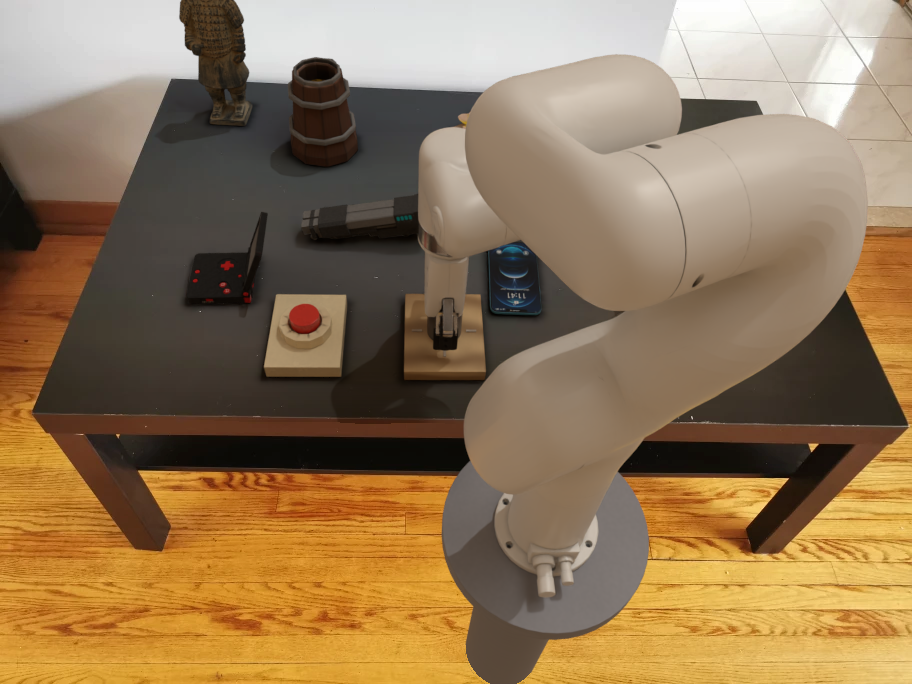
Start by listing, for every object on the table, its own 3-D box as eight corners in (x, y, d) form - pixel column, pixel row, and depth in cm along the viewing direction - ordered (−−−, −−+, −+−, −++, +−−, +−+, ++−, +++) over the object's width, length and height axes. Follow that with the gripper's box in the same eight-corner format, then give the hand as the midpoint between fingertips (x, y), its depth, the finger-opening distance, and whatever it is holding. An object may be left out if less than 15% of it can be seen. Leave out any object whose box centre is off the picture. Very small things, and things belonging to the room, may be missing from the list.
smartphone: (535, 242, 113) (542, 313, 103) (535, 245, 113) (541, 316, 104) (487, 240, 112) (490, 311, 103) (487, 243, 113) (489, 314, 103)
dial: (461, 344, 97) (464, 319, 93) (427, 344, 97) (427, 319, 93) (460, 317, 100) (462, 292, 96) (426, 317, 100) (427, 292, 96)
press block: (341, 377, 95) (338, 359, 92) (266, 376, 95) (261, 359, 92) (347, 304, 103) (345, 286, 100) (278, 304, 103) (274, 285, 100)
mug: (350, 170, 122) (344, 93, 111) (282, 162, 123) (268, 84, 111) (369, 118, 132) (365, 42, 120) (306, 110, 133) (296, 34, 121)
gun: (442, 244, 111) (421, 197, 104) (327, 272, 116) (299, 229, 108) (442, 225, 114) (422, 178, 107) (329, 253, 118) (302, 209, 111)
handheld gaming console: (197, 259, 108) (180, 209, 100) (278, 257, 109) (267, 207, 101) (187, 305, 102) (168, 256, 94) (273, 303, 103) (261, 254, 95)
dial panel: (484, 380, 96) (486, 371, 95) (404, 380, 96) (403, 370, 94) (479, 303, 105) (480, 293, 103) (405, 302, 104) (405, 292, 103)
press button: (319, 334, 95) (317, 326, 94) (289, 334, 95) (287, 325, 94) (321, 311, 98) (320, 303, 96) (292, 311, 97) (290, 303, 96)
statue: (199, 124, 128) (151, -49, 105) (210, 100, 133) (166, -71, 109) (256, 128, 128) (221, -45, 105) (265, 104, 133) (233, -67, 110)
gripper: (418, 180, 89) (417, 275, 102) (417, 282, 78) (416, 372, 92) (477, 181, 89) (468, 275, 103) (485, 283, 78) (474, 373, 92)
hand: (444, 321), depth 97 cm, fingers open, 8 cm apart
